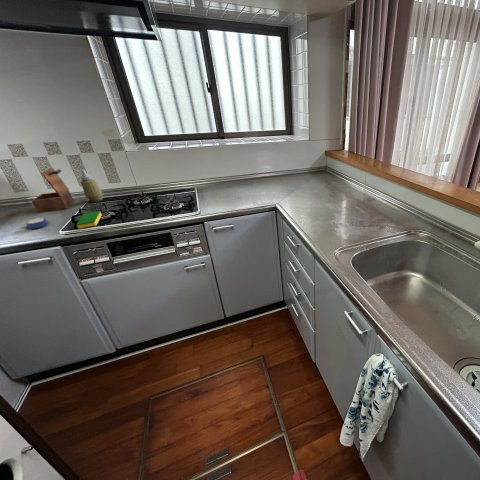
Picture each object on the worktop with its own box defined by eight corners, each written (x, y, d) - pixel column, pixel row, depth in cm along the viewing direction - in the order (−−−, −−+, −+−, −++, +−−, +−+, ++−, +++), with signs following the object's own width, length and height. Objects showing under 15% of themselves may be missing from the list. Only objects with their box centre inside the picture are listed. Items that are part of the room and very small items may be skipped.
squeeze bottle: (103, 196, 163) (90, 167, 154) (106, 200, 158) (92, 170, 149) (87, 200, 159) (73, 170, 150) (89, 203, 153) (74, 173, 144)
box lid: (40, 173, 136) (51, 170, 138) (50, 167, 146) (60, 165, 147) (59, 196, 144) (69, 194, 145) (67, 190, 153) (77, 187, 154)
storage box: (38, 212, 144) (31, 200, 140) (47, 205, 153) (41, 193, 149) (66, 208, 148) (60, 197, 144) (74, 201, 157) (68, 190, 153)
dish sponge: (102, 215, 140) (100, 210, 138) (96, 225, 129) (94, 221, 128) (85, 217, 137) (83, 213, 136) (78, 228, 126) (75, 224, 125)
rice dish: (26, 230, 125) (22, 225, 124) (33, 224, 131) (29, 219, 129) (44, 228, 127) (41, 222, 126) (51, 222, 133) (47, 216, 132)
